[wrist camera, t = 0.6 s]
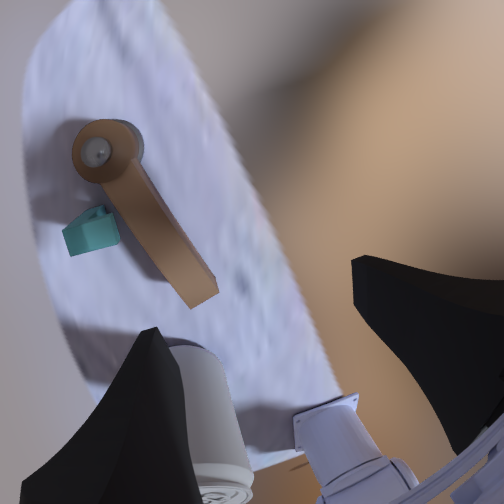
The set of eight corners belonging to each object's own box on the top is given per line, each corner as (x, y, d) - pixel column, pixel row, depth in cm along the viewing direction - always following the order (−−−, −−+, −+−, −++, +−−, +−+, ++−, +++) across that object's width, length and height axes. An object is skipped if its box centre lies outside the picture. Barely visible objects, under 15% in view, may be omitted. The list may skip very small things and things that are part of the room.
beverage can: (130, 367, 21) (122, 502, 10) (183, 324, 20) (201, 476, 9) (186, 402, 23) (204, 521, 12) (238, 366, 23) (281, 493, 12)
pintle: (149, 170, 16) (138, 179, 12) (94, 185, 15) (69, 200, 11) (139, 113, 14) (124, 103, 10) (83, 129, 14) (54, 127, 10)
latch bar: (78, 144, 14) (61, 145, 11) (122, 111, 14) (112, 106, 11) (181, 295, 18) (182, 317, 16) (222, 270, 19) (229, 289, 16)
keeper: (131, 220, 17) (117, 244, 13) (93, 230, 16) (70, 256, 12) (125, 198, 16) (109, 216, 12) (87, 209, 16) (61, 230, 12)
